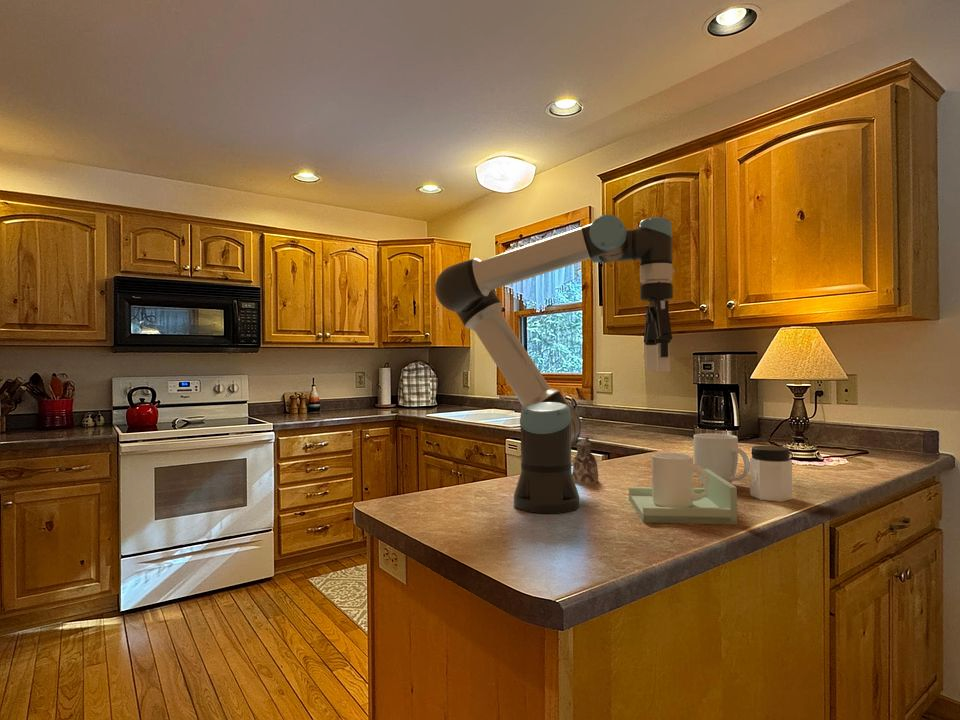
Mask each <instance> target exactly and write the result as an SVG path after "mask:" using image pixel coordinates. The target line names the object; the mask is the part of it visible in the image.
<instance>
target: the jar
mask: <svg viewBox="0 0 960 720" xmlns="http://www.w3.org/2000/svg"><path fill="white" fill-rule="evenodd" d="M790 451H791V450H790V449H789V448H788V447H784V446H777V445H754V446H752V447H751V457H749V462H750V470H749V480H750V484H749V485H750V489H749V490H750V496H751V497H753V498H755V499H757V500H760V501H766V502H779V503H782V502H787V501H790V500H792V499H793V460H792V459H791V458H790V457H791V456H790V455H791V453H790Z"/></svg>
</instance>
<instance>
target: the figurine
mask: <svg viewBox="0 0 960 720" xmlns="http://www.w3.org/2000/svg"><path fill="white" fill-rule="evenodd" d="M576 451H577V452H576V455H574V458H573V465H572V476H573V479H574V482H575V484H579V485H580V484H581V485H594V484H597V483H598V482H599V471H598V462H597V459H596V457H595V455H594V454H592V453H591V452H592V442H591V441H590V440H589V437H587V436H586V437H584V438H583V437H582V438H581V439H580V438H579V439H578V440H577V443H576Z"/></svg>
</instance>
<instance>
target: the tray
mask: <svg viewBox="0 0 960 720" xmlns="http://www.w3.org/2000/svg"><path fill="white" fill-rule="evenodd" d="M703 471H704V472H705V474H706V475H707V478H708V491H707V494H706V495H705V497H704V498H702V499H701V500H698V501H693V504H692V506H690V507H662V506H658V505H656V504H655V503H654V502H653V495H652V486H649V487H648V486H646V487H643V486H642V487H641V486H638V487H637V486H629V487H628V499H629V500H628V501H629V502H630V503H631V505H632V506H633V508H634V510H635V511H636V512H637V514H638V516H639V517H640V519H641V520H642V522H643V523H645V524H653V523H654V524H685V525H686V524H689V525H691V524H693V525H694V524H695V525H697V524H698V525H706V524H707V525H738V488H737V486H735V485H734V484H732V483H729V482H727V481H726V480H724V479H723V478H721V477H720V476H718V475H716V474H715V473H713V472H712V471H710V470H709V469H703ZM705 489H706V481H705V479H704V478H703V483H702V487H693V492H694V493H697V494H701V493H703V492H704V491H705Z"/></svg>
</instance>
